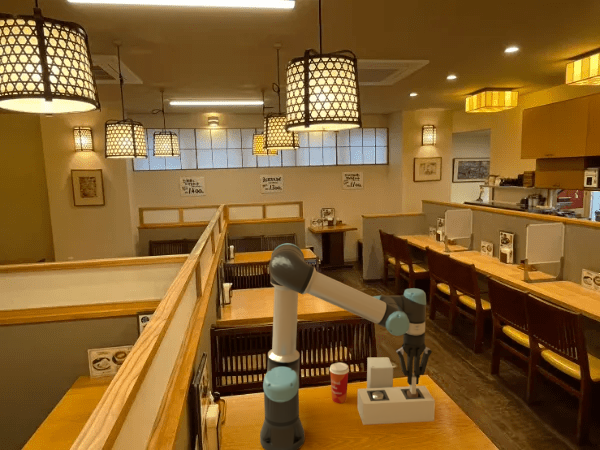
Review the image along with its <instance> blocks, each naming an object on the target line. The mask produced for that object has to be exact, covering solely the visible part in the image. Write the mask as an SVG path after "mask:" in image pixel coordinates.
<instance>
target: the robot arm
mask: <svg viewBox="0 0 600 450" xmlns="http://www.w3.org/2000/svg"><path fill="white" fill-rule="evenodd" d="M304 255H305V254H304V253H303V251H302V249H301V248H300V247H299V246H297V245H295V244H294V243H288V242H287V243H282V244H279V245H278V246H277V247H275V248H274V250H273V251H272V253H271V258H270V260H269V264H268V267H269V268H268V269H269V273H270V277H269V279H270V284H271V286H273V287H274V288H273V291H274V292H273V315H272V316H273V317H272V318H273V320H272V321H273V322H272V343H271V344H272V347H271V348H272V349H270V350H269V351H268V352H267V366H266V367H267V368H266V369H267V371H266V374H265V375H264V377H263V383H262V387H263V392H264V393H263V396H264V397H263V400H264V401H263V402H264V404H263V405H264V419H263V424H262V426H261V430H260V434H259V436H260V437H259V438H260V439H259V441H260V442H259V443H260V445H261V447H262V449H265V450H299V449H300V448H301V447H302V446H303V445H304V443H305V441H306V440H305V439H306V437H305V435H306V434H305V429H304V426H303V423H302V421H301V418H300V392H299V391H300V376H299V375H300V352H299V351H298V350H297V331H298V330H297V327H298V306H299V305H298V303H299V294H301V295H306V294H308V295H311V296H313V297H315V298H317V299H319V300H322V301H324V302H327V303H329V304H331V305H333V306H336V307H338V308H340V309H342V310H344V311H347V312H349V313H351V314H353V315H356V316H358V317H361V318H363V319H364V320H367V321H370V322H371V323H375V324H377V325H378V326H380V327H383V328H385V329H386V331H388V332H389V333H390V334H391V335H392V336H397V337H400V336H403V338H402V341H403V343H402V345H401V347H400V348H396V349H395V352H396V353H397V355H398V358H399V363H400V368H401V371H402V373H403V375H404V376H406V380H407V381H406V382H407V384H408V386H410V392H411V393H412V394H416V386H417V385H419V383H420V382H419V381H420V378H421V375H422V376H423V375H425V372H426V368H427V365H428V362H429V357H430V356H431V354H432V353H433V350H432V349H430V347H427V345H426V344H425V342H426V333H425V332H426V311H427V310H426V309H427V295H426V292H425V291H424V290H423V289H420V288H415V287H413V288H411V287H410V288H406V289H404V292H403V294H402V295H374V296H371V295H369V294H367V293H365V292H363V291H361V290H358V289H356V288H355V287H351V286H349V285H347V284H345V283H343V282H341V281H338V280H336V279H334V278H332V277H329V276H327V275H325V274H323V273H321V272H318V271H317V270H316V267H315V266H313V265H310V264H309V263H307V262H306V261H305V256H304ZM404 352H405V353H406V357H407V358H406V359H407V361H406V362H407V363H406V362H405V357H404ZM422 354H423V355H422ZM421 356H422V357H421ZM406 364H407V365H406Z"/></svg>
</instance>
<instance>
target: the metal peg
mask: <svg viewBox="0 0 600 450" xmlns="http://www.w3.org/2000/svg"><path fill="white" fill-rule="evenodd" d="M372 399H373V400H374V399H383V393H381V392H378V391H376V392H373V393H372Z"/></svg>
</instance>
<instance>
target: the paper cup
mask: <svg viewBox="0 0 600 450" xmlns="http://www.w3.org/2000/svg"><path fill="white" fill-rule="evenodd" d="M329 372H330V386H331V399H332V402H334V403H335V404H344V403H346V401H347V398H348V397H347V395H348V384H349V383H348V380H349V379H348V378H349V372H350V369H349V366H348V364H347V363H345V362H339V361H338V362H335V363H331V365H330V367H329Z"/></svg>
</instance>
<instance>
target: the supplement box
mask: <svg viewBox="0 0 600 450" xmlns="http://www.w3.org/2000/svg"><path fill="white" fill-rule="evenodd" d="M366 359H367V360H366V361H367V362H366V363H367V365H366V366H367V367H366V368H367V369H366V370H367V371H366V372H367V373H366V389H367V388H388V387H394V385H393V383H394V367H393V365H392V362H391V360H390V358H389V357H386V356H385V357H383V356H382V357H375V356H374V357H369V356H368V357H367V358H366Z"/></svg>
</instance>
